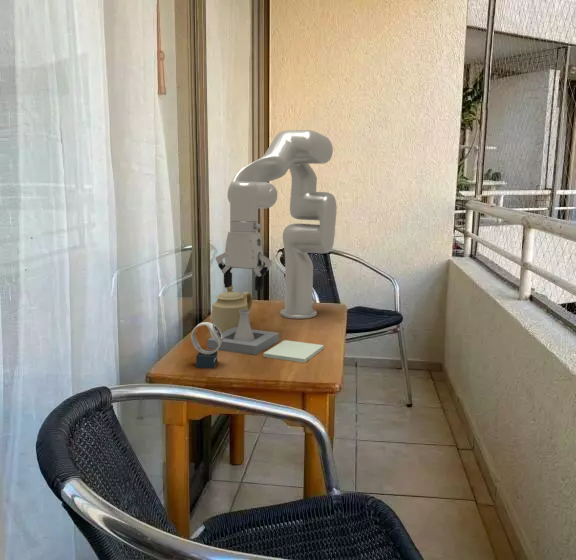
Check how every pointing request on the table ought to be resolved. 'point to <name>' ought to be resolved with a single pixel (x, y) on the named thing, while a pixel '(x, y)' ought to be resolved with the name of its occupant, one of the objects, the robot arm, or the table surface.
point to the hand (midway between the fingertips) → (243, 288)
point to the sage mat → (293, 351)
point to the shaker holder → (245, 342)
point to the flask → (244, 327)
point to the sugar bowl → (229, 308)
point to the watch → (207, 356)
